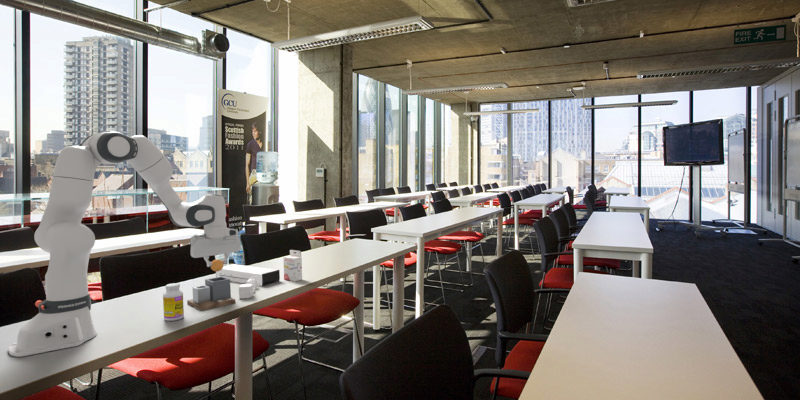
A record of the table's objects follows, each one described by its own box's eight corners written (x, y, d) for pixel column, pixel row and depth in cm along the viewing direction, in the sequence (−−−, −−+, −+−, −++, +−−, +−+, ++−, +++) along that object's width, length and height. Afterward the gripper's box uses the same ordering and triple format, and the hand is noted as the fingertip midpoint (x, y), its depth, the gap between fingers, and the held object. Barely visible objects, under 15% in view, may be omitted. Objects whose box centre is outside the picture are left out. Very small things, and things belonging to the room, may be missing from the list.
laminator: (216, 279, 231) (215, 267, 231) (235, 274, 242) (235, 263, 242) (262, 287, 214) (262, 274, 214) (281, 281, 225) (281, 269, 224)
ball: (213, 273, 185) (213, 261, 185) (208, 271, 188) (208, 259, 188) (225, 271, 188) (225, 259, 188) (220, 269, 192) (220, 258, 192)
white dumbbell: (251, 298, 193) (251, 286, 193) (238, 299, 193) (238, 286, 192) (258, 287, 213) (258, 275, 213) (247, 287, 212) (246, 276, 212)
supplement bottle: (175, 322, 163) (174, 287, 163) (159, 321, 165) (158, 286, 164) (187, 316, 170) (186, 282, 169) (172, 315, 171) (171, 282, 170)
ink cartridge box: (283, 279, 227) (282, 250, 226) (290, 277, 231) (289, 249, 230) (295, 281, 222) (294, 252, 221) (302, 279, 226) (301, 250, 226)
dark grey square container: (213, 301, 184) (212, 282, 183) (205, 298, 189) (205, 279, 188) (230, 297, 189) (230, 279, 189) (222, 294, 194) (222, 276, 194)
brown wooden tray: (201, 310, 177) (201, 305, 176) (187, 303, 186) (187, 299, 186) (235, 302, 187) (235, 298, 187) (220, 296, 196) (220, 292, 196)
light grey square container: (198, 304, 181) (197, 289, 180) (193, 301, 184) (192, 287, 184) (210, 301, 184) (209, 286, 184) (205, 299, 188) (204, 285, 187)
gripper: (193, 236, 178) (194, 270, 179) (241, 230, 193) (243, 262, 193) (186, 234, 182) (188, 268, 183) (235, 229, 197) (236, 260, 198)
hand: (217, 265), depth 188 cm, fingers closed on ball, 5 cm apart
